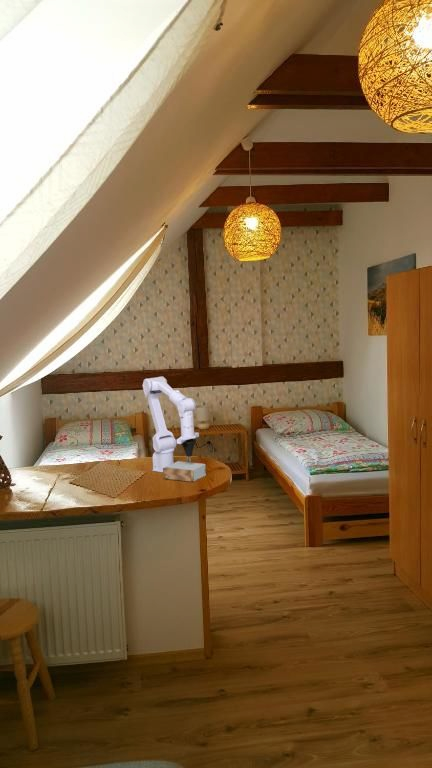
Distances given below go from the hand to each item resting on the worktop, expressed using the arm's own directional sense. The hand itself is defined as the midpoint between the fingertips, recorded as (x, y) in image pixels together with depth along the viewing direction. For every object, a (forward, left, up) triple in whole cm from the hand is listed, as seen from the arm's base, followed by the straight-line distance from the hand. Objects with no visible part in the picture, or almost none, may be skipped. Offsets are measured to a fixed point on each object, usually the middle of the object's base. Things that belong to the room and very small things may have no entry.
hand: (189, 456), depth 251 cm
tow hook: (-8, +16, -10) cm, 21 cm away
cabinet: (-3, +1, -10) cm, 11 cm away
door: (-3, -6, -10) cm, 11 cm away
